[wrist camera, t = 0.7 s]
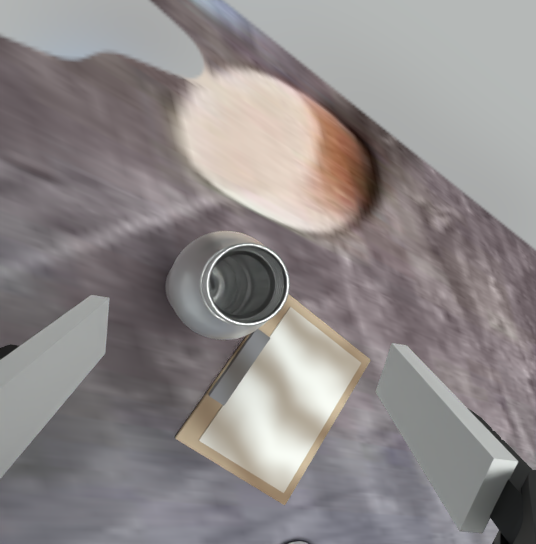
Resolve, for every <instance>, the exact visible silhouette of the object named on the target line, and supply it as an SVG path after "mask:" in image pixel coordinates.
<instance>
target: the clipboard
mask: <svg viewBox="0 0 536 544" xmlns="http://www.w3.org/2000/svg"><path fill="white" fill-rule="evenodd" d="M369 362H370V359H369V358H368V357H366V356H365V355H364V354H363V353H361V352H360V351H359V350H358V349H356V348H355V347H354V346H353V345H351V344H350V343H349V342H348V341H346V340H345V339H344V338H343V337H341V336H340V335H339V334H338V333H336V332H335V331H334V330H333V329H331V328H330V327H329V326H328V325H326V324H325V323H324V322H323V321H321V320H320V319H319V318H318V317H316V316H315V315H314V314H313V313H311V312H310V311H309V310H308V309H306V308H305V307H304V306H303V305H301V304H300V303H299V302H298V301H296V300H295V299H294V298H293V297H291V296H290V295H289V294H288V297H287V300H286V302H285V304H284V306H283V307H282V309H281V310H280V311H279V312H278V313H277V315H275V316H274V317H273V318H271V319H270V320H268V321H267V322H266V323H265V324H264V325H262V326H261V327H260V328H258V329H257V330H256V331H254V332H252V333H250V334H248V335H247V336H246V337H245V338H244V340H243V341H242V343H241V344H240V345H239V347H238V348H237V350H236V351H235V353H234V354H233V355H232V357H231V358H230V360H229V361H228V362H227V364H226V365H225V367H224V368H223V370H222V371H221V372H220V374H219V375H218V377H217V378H216V379H215V381H214V382H213V384H212V385H211V387H210V388H209V389H208V391H207V392H206V394H205V395H204V396H203V398H202V399H201V401H200V402H199V404H198V405H197V406H196V408H195V409H194V411H193V412H192V413H191V415H190V416H189V418H188V419H187V421H186V422H185V423H184V425H183V426H182V428H181V429H180V430H179V432H178V433H177V435H176V436H175V439H177V440H178V441H180V442H182V443H183V444H185V445H187V446H188V447H190V448H192V449H193V450H195V451H196V452H198V453H200V454H201V455H203V456H205V457H206V458H208V459H210V460H211V461H213V462H215V463H216V464H218V465H219V466H221V467H223V468H224V469H226V470H228V471H229V472H231V473H233V474H234V475H236V476H237V477H239V478H241V479H242V480H244V481H246V482H247V483H249V484H251V485H252V486H254V487H256V488H257V489H259V490H260V491H262V492H264V493H265V494H267V495H269V496H270V497H272V498H274V499H275V500H277V501H278V502H280V503H282V504H283V505H285V504H286V503H287V501H288V499H289V498H290V496H291V494H292V493H293V491H294V489H295V487H296V486H297V484H298V482H299V481H300V479H301V477H302V476H303V474H304V472H305V471H306V469H307V467H308V465H309V464H310V462H311V460H312V459H313V457H314V455H315V454H316V452H317V450H318V448H319V447H320V445H321V443H322V442H323V440H324V438H325V437H326V435H327V433H328V432H329V430H330V428H331V426H332V425H333V423H334V421H335V420H336V418H337V416H338V415H339V413H340V411H341V409H342V408H343V406H344V404H345V403H346V401H347V399H348V398H349V396H350V394H351V393H352V391H353V389H354V387H355V386H356V384H357V382H358V381H359V379H360V377H361V376H362V374H363V372H364V371H365V369H366V367H367V365H368V364H369Z"/></svg>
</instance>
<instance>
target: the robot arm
mask: <svg viewBox="0 0 536 544" xmlns="http://www.w3.org/2000/svg"><path fill="white" fill-rule="evenodd" d="M108 311H109V298H108V297H101V296H95V295H90V296H89V297H88V298H86V299H85V300H83V301H82V302H81V303H79V304H78V305H76V306H75V307H74V308H72V309H71V310H69V311H68V312H67V313H65V314H64V315H62V316H61V317H60V318H58V319H57V320H55V321H54V322H53V323H51V324H50V325H48V326H47V327H46V328H44V329H43V330H41V331H40V332H39V333H37V334H36V335H34V336H33V337H32V338H30V339H29V340H27V341H26V342H25V343H23V344H22V345H21V346H17V345H7V346H5V347H2V348H0V479H1V478H2V476H3V475H4V474H5V473H6V472H7V470H8V469H9V468H10V467H11V466H12V464H13V463H14V462H15V461H16V460H17V458H18V457H19V456H20V455H21V454H22V452H23V451H24V450H25V449H26V448H27V446H28V445H29V444H30V443H31V442H32V441H33V439H34V438H35V437H36V436H37V435H38V433H39V432H40V431H41V430H42V429H43V427H44V426H45V425H46V424H47V423H48V421H49V420H50V419H51V418H52V417H53V415H54V414H55V413H56V412H57V411H58V409H59V408H60V407H61V406H62V405H63V404H64V402H65V401H66V400H67V399H68V398H69V396H70V395H71V394H72V393H73V392H74V390H75V389H76V388H77V387H78V386H79V384H80V383H81V382H82V381H83V380H84V378H85V377H86V376H87V375H88V374H89V372H90V371H91V370H92V369H93V368H94V366H95V365H96V364H97V363H98V362H99V361H100V359H101V358H102V357H103V356H104V355H105V351H106V338H107V325H108ZM376 393H377V395H378V397H379V398H380V400H381V402H382V403H383V405H384V407H385V408H386V410H387V412H388V413H389V415H390V417H391V418H392V420H393V422H394V423H395V425H396V427H397V428H398V430H399V432H400V433H401V435H402V437H403V438H404V440H405V442H406V443H407V445H408V447H409V448H410V450H411V452H412V453H413V455H414V457H415V458H416V460H417V462H418V463H419V465H420V467H421V468H422V470H423V472H424V473H425V475H426V477H427V478H428V480H429V482H430V483H431V485H432V486H433V488H434V490H435V491H436V493H437V495H438V496H439V498H440V500H441V501H442V503H443V505H444V506H445V508H446V510H447V511H448V513H449V515H450V516H451V518H452V520H453V521H454V523H455V525H456V526H457V528H458V530H459V531H463V532H473V533H483V531H484V529H485V527H486V525H487V523H488V521H489V519H490V518H491V519H492V521H493V522H494V523H495V525H496V526H497V527H498V529H499V531H498V533H497V535H496V537H495V539H494V541H493V543H492V544H536V470H532V469H531V468H530V467H529V466H528V465H527V464H526V463H525V462H524V461H523V460H522V459H521V458H520V457H519V456H518V455H517V454H516V453H515V452H514V451H513V450H512V448H511V447H510V446H509V445H508V444H507V443H506V442H505V441H504V440H501V437H500V436H499V435H498V434H497V433H496V432H495V431H492V428H491V427H490V426H489V425H488V424H487V423H486V422H485V421H484V420H483V419H482V418H481V417H479V416H478V415H477V414H475V413H474V412H472V411H471V410H470V409H468V408H466V407H465V405H464V404H463V403H462V402H461V401H460V400H459V399H458V398H457V397H456V396H455V395H454V394H453V393H452V392H451V391H450V390H449V389H448V388H447V387H446V386H445V385H444V384H443V383H442V382H441V381H440V380H439V378H438V377H437V376H436V375H435V374H434V373H433V372H432V371H431V370H430V369H429V368H428V367H427V366H426V365H425V364H424V363H423V362H422V361H421V360H420V359H419V358H418V357H417V356H416V355H415V354H414V353H413V351H412V350H411V349H410V348H409V347H408V346H407V345H400V344H394V343H392V344H391V347H390V350H389V353H388V356H387V359H386V362H385V365H384V368H383V371H382V374H381V377H380V380H379V383H378V386H377V389H376Z"/></svg>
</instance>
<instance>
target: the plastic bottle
mask: <svg viewBox="0 0 536 544" xmlns="http://www.w3.org/2000/svg"><path fill="white" fill-rule="evenodd" d="M289 288H290V279H289V274H288V270H287V268H286V266H285V264H284V262H283V261H282V259H281V258H280V257H279V256H278V255H277V254H276V253H275V252H274V251H272V250H271V249H269V248H268V247H265V246H264V245H263V244H262V243H260V242H259V241H257V240H256V239H254V238H252V237H250V236H248V235H245V234H243V233H238V232H233V231H218V232H213V233H209V234H206V235H203V236H201V237H199V238H197V239H196V240H194V241H192V242H191V243H189V244H188V245H187V246H186V247H185V248H184V249H183V250H182V251H181V253H180V254H179V255H178V257H177V258H176V260H175V262H174V264H173V267H172V268H171V269H170V271H169V273H168V276H167V278H166V284H165V291H166V295H167V299H168V301H169V303H170V305H171V306H172V307H173V309H174V310H175V312H176V314H177V316H178V317H179V318H180V320H181V321H182V322H183V323H184V324H185V325H186V326H187V327H189V328H190V329H191V330H192V331H194V332H196V333H198V334H200V335H201V336H204V337H208V338H211V339H217V340H231V339H237V338H240V337H244V336H246V335H248V334H250V333H252V332H254V331H256V330H257V329H258V328H260V327H261V326H262V325H264V324H265V323H266V322H267V321H268V320H270V319H271V318H273V317H274V316H275V315H277V313H278V312H279V311H280V310H281V309H282V307H283V306H284V304H285V302H286V300H287V297H288V294H289Z"/></svg>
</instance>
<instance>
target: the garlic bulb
mask: <svg viewBox="0 0 536 544" xmlns="http://www.w3.org/2000/svg"><path fill="white" fill-rule="evenodd" d="M289 544H308V543H306V542H302V541H297V542H291V543H289Z"/></svg>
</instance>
